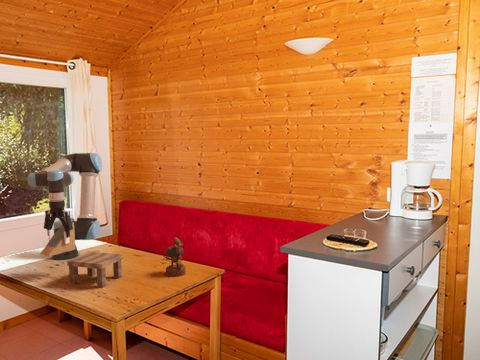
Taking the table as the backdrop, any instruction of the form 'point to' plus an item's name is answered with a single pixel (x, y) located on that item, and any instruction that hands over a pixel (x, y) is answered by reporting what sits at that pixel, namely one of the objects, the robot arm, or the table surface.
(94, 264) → the stool
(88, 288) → the table surface
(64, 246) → the sandwich container
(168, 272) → the small figurine
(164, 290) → the table surface
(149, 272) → the table surface
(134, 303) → the table surface
